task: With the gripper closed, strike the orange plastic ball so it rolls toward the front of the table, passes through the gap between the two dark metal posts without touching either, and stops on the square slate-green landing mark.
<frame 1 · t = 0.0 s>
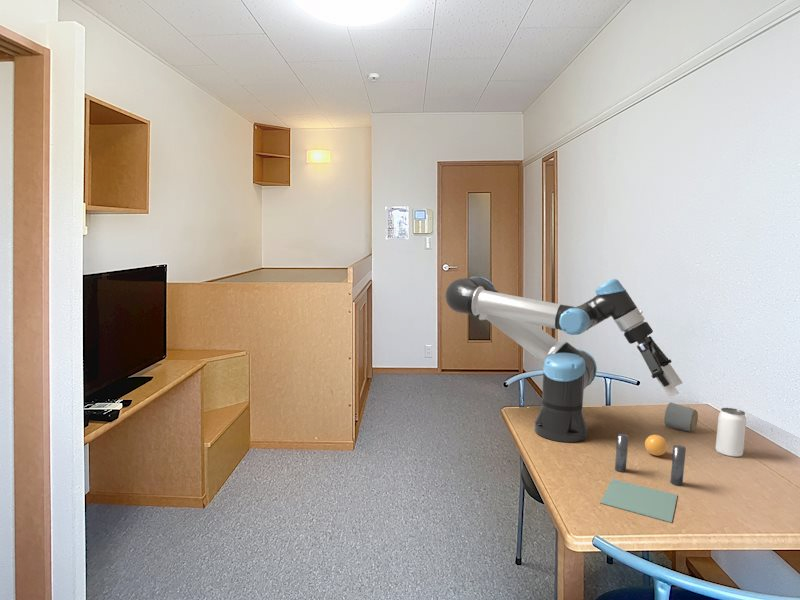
hand: (676, 390, 150), 15 cm above the table, tool tilted 35°, fingers open, 13 cm apart
post left: (620, 469, 131), on the table
grey lying cylinder: (680, 428, 163), on the table
ball: (656, 445, 140), on the table
post right: (676, 483, 124), on the table
landing mark: (639, 499, 116), on the table
can: (728, 453, 144), on the table
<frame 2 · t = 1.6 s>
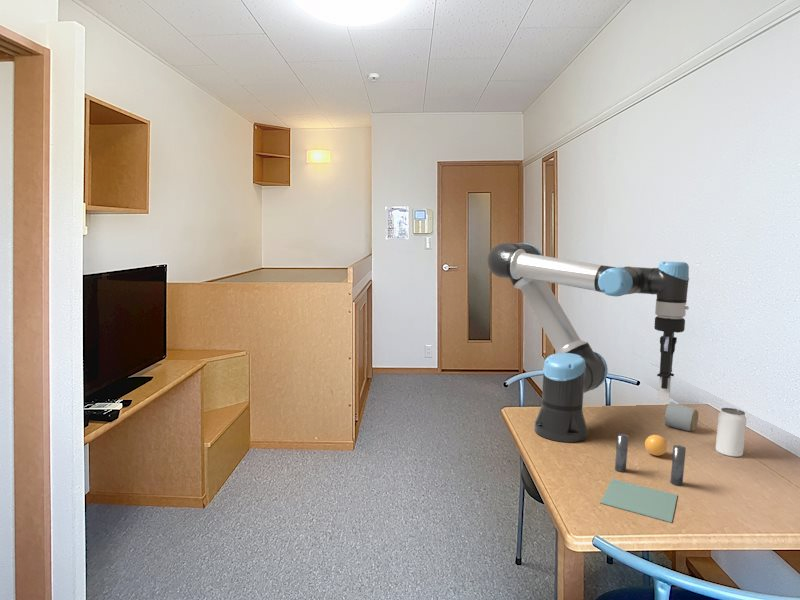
hand: (663, 398, 147), 13 cm above the table, tool pointing down, fingers closed
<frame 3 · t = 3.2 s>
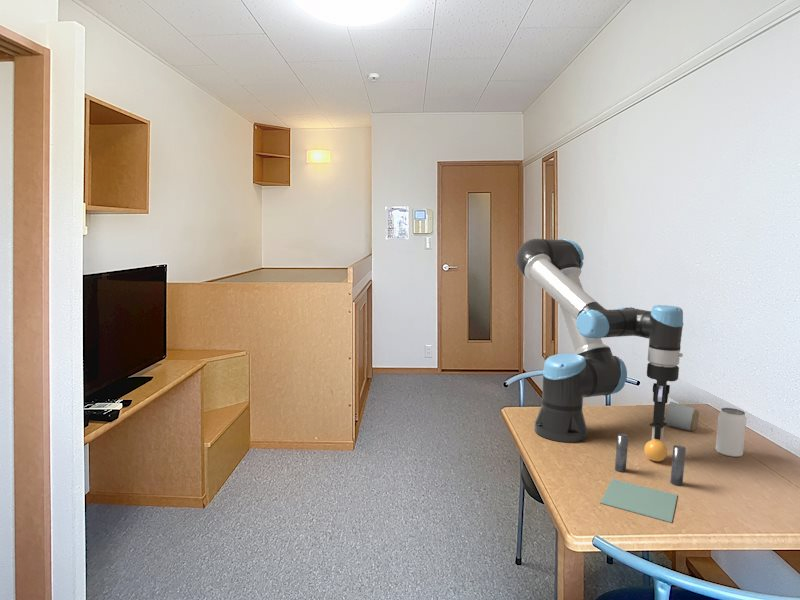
hand: (656, 449, 140), 2 cm above the table, tool pointing down, fingers closed
ball: (655, 450, 137), on the table
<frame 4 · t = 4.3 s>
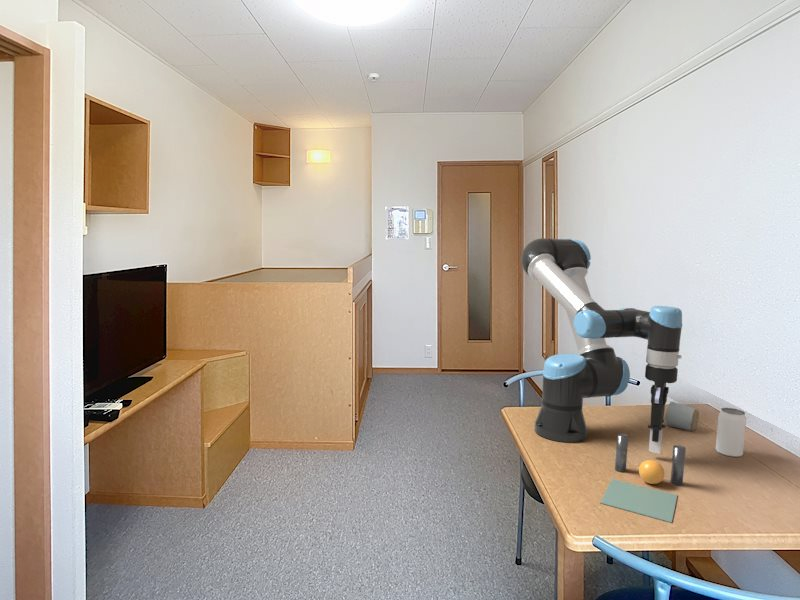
hand: (654, 451, 138), 2 cm above the table, tool pointing down, fingers closed
ball: (651, 471, 124), on the table
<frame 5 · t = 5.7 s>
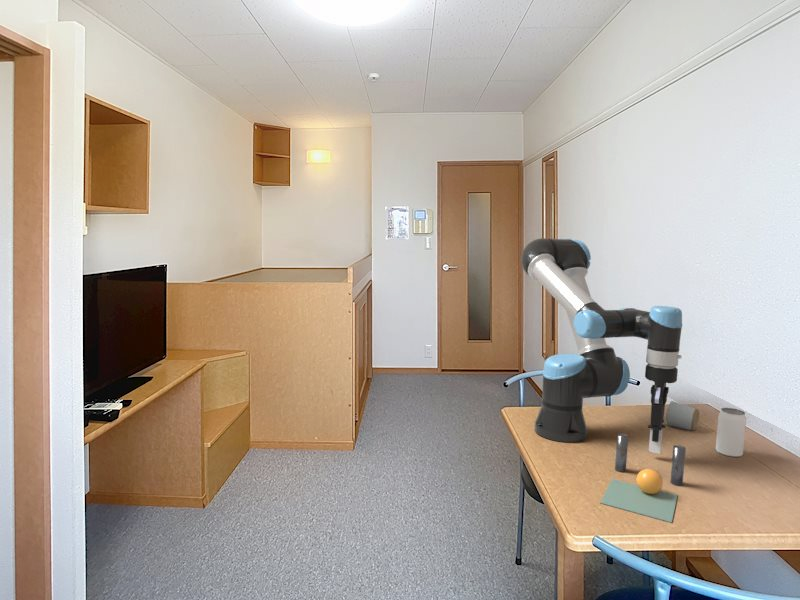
hand: (654, 451, 138), 2 cm above the table, tool pointing down, fingers closed
ball: (649, 481, 118), on the table
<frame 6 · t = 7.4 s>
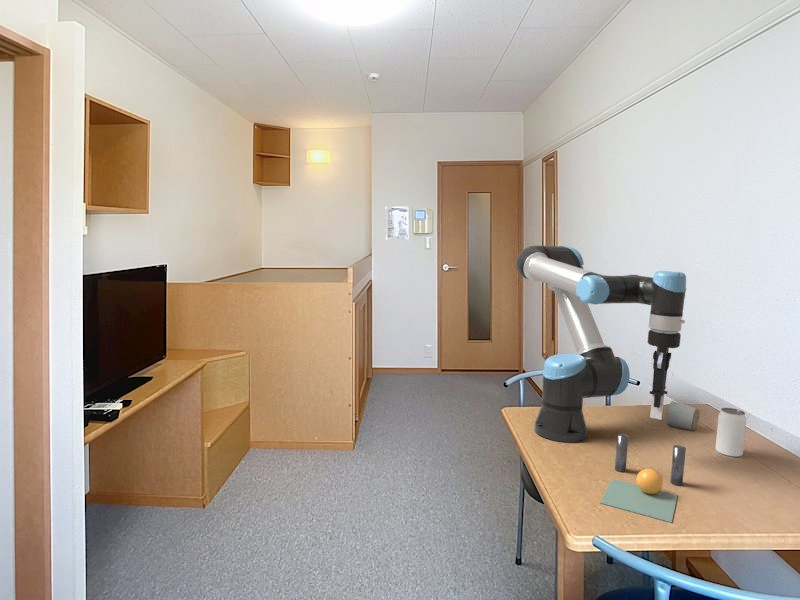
hand: (655, 417, 137), 11 cm above the table, tool pointing down, fingers closed
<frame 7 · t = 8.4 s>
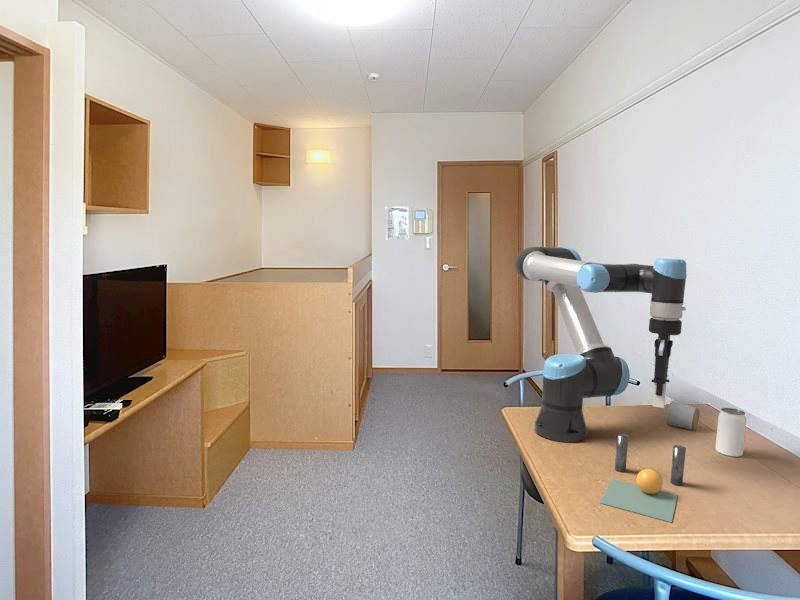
hand: (658, 406, 137), 14 cm above the table, tool pointing down, fingers closed
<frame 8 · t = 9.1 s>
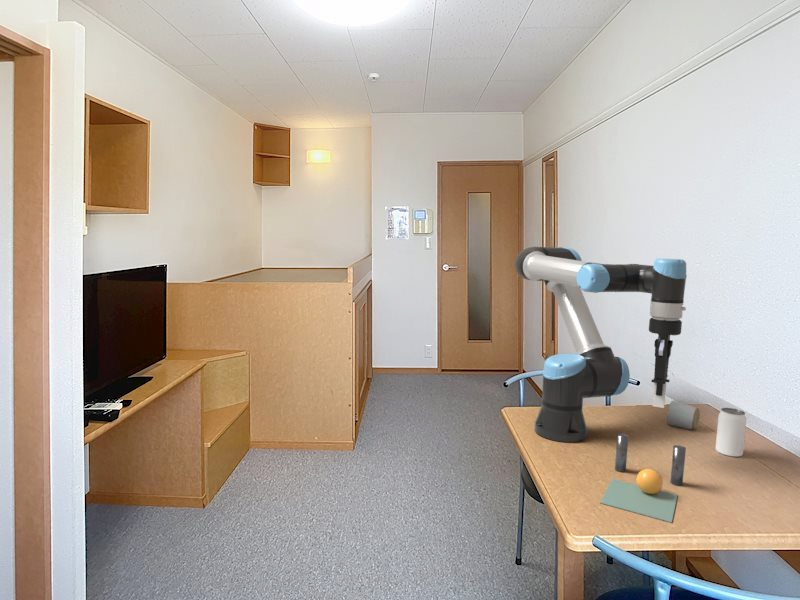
hand: (658, 406, 137), 14 cm above the table, tool pointing down, fingers closed
at the end: ball 4.8 cm from the landing mark (horizontally); ball never touched post left; ball never touched post right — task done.
